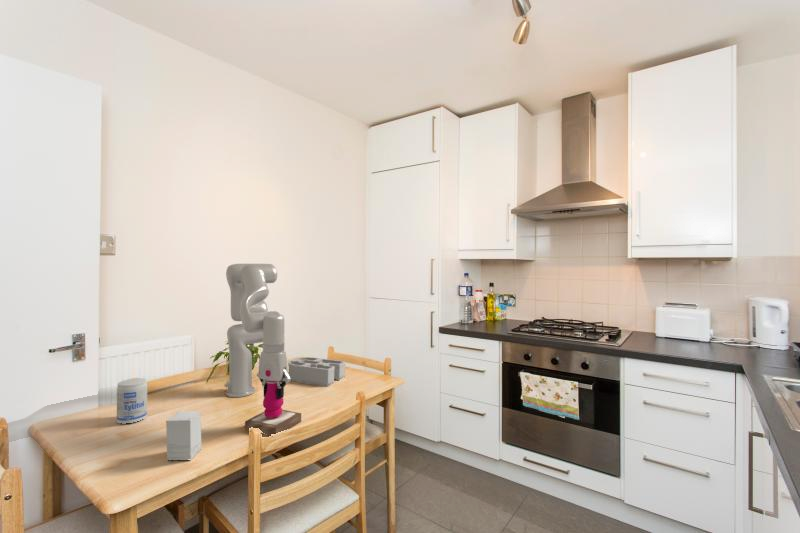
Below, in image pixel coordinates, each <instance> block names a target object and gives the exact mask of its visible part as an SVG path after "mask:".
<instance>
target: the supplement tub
mask: <svg viewBox="0 0 800 533" xmlns="http://www.w3.org/2000/svg"><path fill="white" fill-rule="evenodd" d="M147 416H148V380H147V378H142V377H141V378H140V377H137V378H129V379H125V380H121V381H119V382H117V387H116V422H117V423H118V424H120V423H122V424H121V425H127V424H126V423H132V424H134V423H133V422H136V423H138V422H137V421H139V422H141V421H143V420H142V419H144V418H145V419H146V418H147ZM145 419H144V420H145ZM140 420H141V421H140Z"/></svg>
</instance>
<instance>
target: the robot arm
mask: <svg viewBox="0 0 800 533" xmlns="http://www.w3.org/2000/svg"><path fill="white" fill-rule="evenodd" d="M277 270H278V269H277V268H276V266H275V265H274V264H272V263H234V264H230V265H228V266H227V267H226V272H225V276H226V281H227V284H228V288H229V291H230V317H231V320H232V321H234V322H241V323H239V324H233V325H231V326H230V327H229V328H228V329H227V331H226V338H227V344H228V352H229V354H228V355H229V356H228V359H229V368H228V369H229V370H228V372H229V375H228V377H229V379H228V380H227V381H226V383H225V384H224V387H225V388H227V389H226V391H225V396H227V397H229V398H242V397H247V396H250V395H253V394H254V393H255V392H256V387H254V386H253V385H252V384H253V383H252V382H253V381H252V380H253V374H252V372H253V369H252V368H253V363H252V362H253V361H252V357H253V356H252V351H251V350H250V349H249V348H248V347H247V345H252V344H259V343H262V344H261V348H262V351H261V352H260V356H259V361H258V362H259V363H258V372H257V374H256V376H257V378H258V379H259V381H260V382H261V385H262V387H263V397H265V395H266V392H267V386H268V385H267V382H266V380H271V381H276V382H277V386H278V388H277V390H276V398H277V399H281V398H283V399H284V395H285V394H284V393H285V390H284V389H285V388H284V387H286V385H287V384H288V383H289V382H290V381H291V378H290V376H289V366H288V360H287V359H288V356H287V354H286V351H285V316H284V315H282V314H280V312H278V311H276V310H275V311H274V310H273V311H271V310H269V311H268V306H267V303H266V301H265V300H266V299H267V298H268V296H269V294H270V291H269V288H268V284H273V283H275V282H276V281H277V280H278V271H277ZM266 370H270V371H271V372H270V373H271V376H270V377H267V376H266V374H265V373H266Z"/></svg>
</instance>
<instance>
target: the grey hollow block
mask: <svg viewBox="0 0 800 533" xmlns="http://www.w3.org/2000/svg"><path fill="white" fill-rule="evenodd" d="M346 365H347V364H346V361H345V360H344V361H343V360H339V359H338V360H336V359H330V358H329V359H327V358H321V357H311V356H310V357H308V356H307V357H306V356H305V357H297V358H293V359H290V360H288V361H287V367H288V375H289V376H290V378H291V380H290V381H291V382H295V383H296V382H297V383H302V384H307V383H308V384H307V385H314V386H320V385H321V387H330V386H332V385H334V383H335V381H341V380H342V378H343V377H344V378H346V377H345V376H346ZM344 378H343V379H344ZM334 379H336V380H334ZM340 379H341V380H340ZM331 384H332V385H331Z"/></svg>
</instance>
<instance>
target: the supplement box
mask: <svg viewBox="0 0 800 533" xmlns="http://www.w3.org/2000/svg"><path fill="white" fill-rule="evenodd" d="M165 423H166V461H167V460H188V459H192V458H193V457H194V456H195V455H196V453H197V452H198V451H199V450H200V449H201V450H202V411H201V410H193V411H191V410H190V411H189V410H188V411H177V412H176V413H175V414H172V416H171V417H169V418H168V419H167V420H165ZM201 450H200V451H201ZM200 451H199V452H200ZM199 452H198V453H199ZM196 456H197V455H196ZM196 456H195V457H196ZM195 457H194V458H195ZM194 458H193V459H194ZM193 459H192V460H193Z"/></svg>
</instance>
